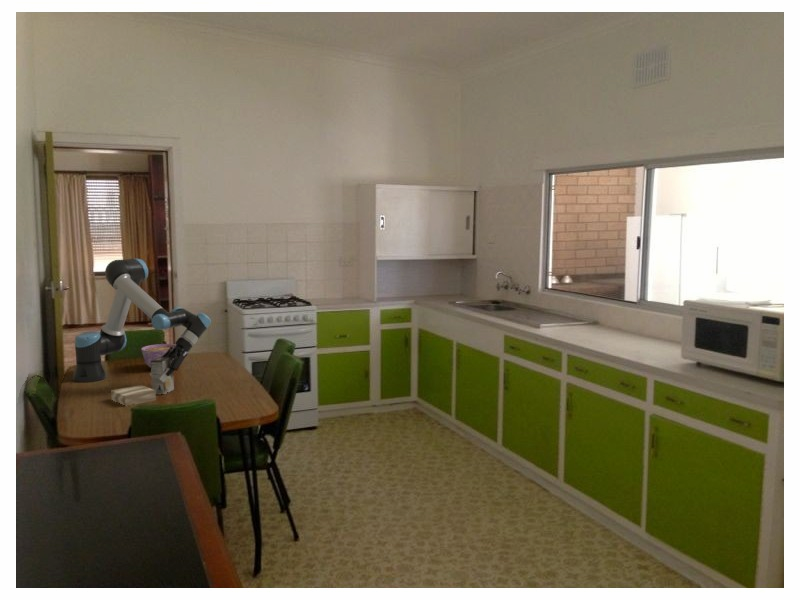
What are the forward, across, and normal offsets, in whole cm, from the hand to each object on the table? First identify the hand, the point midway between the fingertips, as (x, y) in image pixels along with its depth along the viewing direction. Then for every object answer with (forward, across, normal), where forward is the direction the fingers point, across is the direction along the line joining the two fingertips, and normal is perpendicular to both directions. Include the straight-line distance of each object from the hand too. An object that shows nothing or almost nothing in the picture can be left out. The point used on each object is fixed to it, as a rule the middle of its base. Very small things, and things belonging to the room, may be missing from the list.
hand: (156, 378), depth 314 cm
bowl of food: (-13, +47, -23) cm, 54 cm away
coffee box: (+3, 0, -7) cm, 8 cm away
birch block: (+14, -4, +4) cm, 15 cm away
